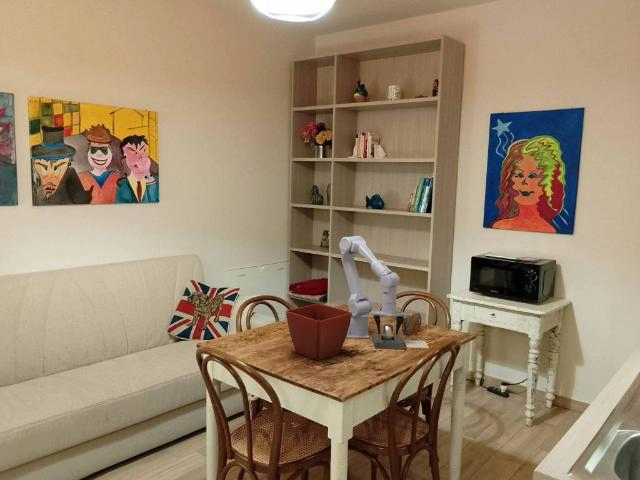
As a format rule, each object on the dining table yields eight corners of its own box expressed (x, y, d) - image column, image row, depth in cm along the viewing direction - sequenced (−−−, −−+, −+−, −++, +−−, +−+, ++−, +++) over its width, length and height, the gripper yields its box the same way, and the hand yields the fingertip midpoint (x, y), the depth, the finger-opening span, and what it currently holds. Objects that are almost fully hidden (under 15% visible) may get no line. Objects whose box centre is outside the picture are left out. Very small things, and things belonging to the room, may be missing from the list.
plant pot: (352, 353, 203) (353, 312, 201) (318, 365, 190) (319, 321, 188) (318, 342, 217) (318, 303, 215) (284, 352, 203) (284, 310, 201)
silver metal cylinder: (383, 345, 214) (384, 326, 213) (382, 342, 218) (382, 323, 217) (392, 345, 214) (393, 326, 213) (391, 342, 218) (392, 323, 217)
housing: (374, 348, 210) (374, 342, 210) (371, 339, 222) (372, 333, 222) (404, 349, 210) (404, 343, 210) (399, 339, 222) (399, 334, 222)
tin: (406, 336, 227) (407, 318, 226) (400, 335, 229) (400, 316, 228) (421, 329, 239) (422, 311, 238) (415, 327, 241) (416, 310, 240)
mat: (407, 348, 212) (407, 347, 212) (403, 341, 221) (403, 340, 221) (429, 348, 212) (429, 347, 212) (424, 341, 221) (424, 340, 221)
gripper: (372, 304, 210) (371, 336, 212) (408, 304, 210) (406, 337, 212) (371, 300, 217) (369, 331, 219) (405, 300, 217) (404, 332, 219)
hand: (387, 333), depth 216 cm, fingers open, 7 cm apart
